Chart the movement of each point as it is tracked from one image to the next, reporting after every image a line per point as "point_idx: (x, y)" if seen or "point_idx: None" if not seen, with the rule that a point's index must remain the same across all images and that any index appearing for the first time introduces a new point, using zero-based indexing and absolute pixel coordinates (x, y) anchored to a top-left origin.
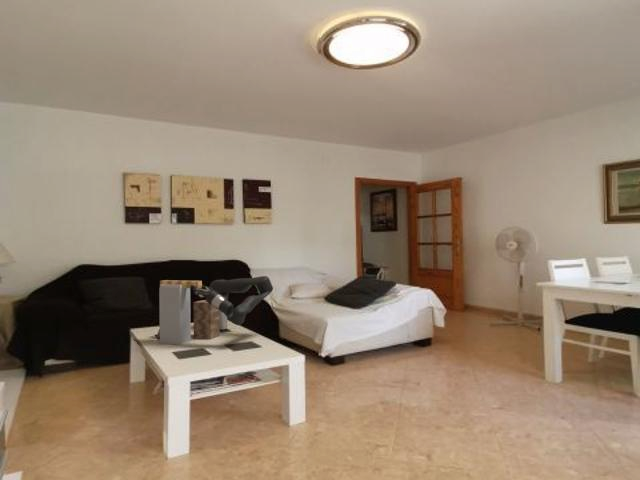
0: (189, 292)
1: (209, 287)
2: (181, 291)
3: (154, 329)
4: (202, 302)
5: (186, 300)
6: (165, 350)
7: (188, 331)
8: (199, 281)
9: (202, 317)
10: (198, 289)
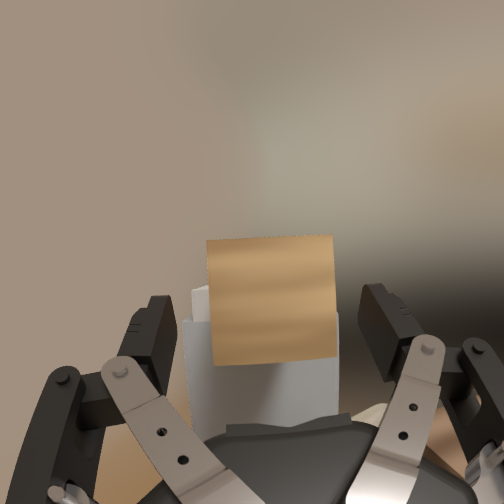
0: (328, 362)
1: (483, 355)
2: (210, 349)
3: (376, 413)
4: (438, 451)
5: (285, 424)
6: None
7: None
8: (262, 242)
9: None
10: (115, 396)
